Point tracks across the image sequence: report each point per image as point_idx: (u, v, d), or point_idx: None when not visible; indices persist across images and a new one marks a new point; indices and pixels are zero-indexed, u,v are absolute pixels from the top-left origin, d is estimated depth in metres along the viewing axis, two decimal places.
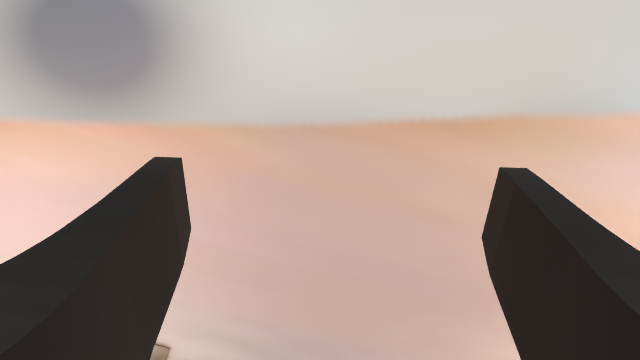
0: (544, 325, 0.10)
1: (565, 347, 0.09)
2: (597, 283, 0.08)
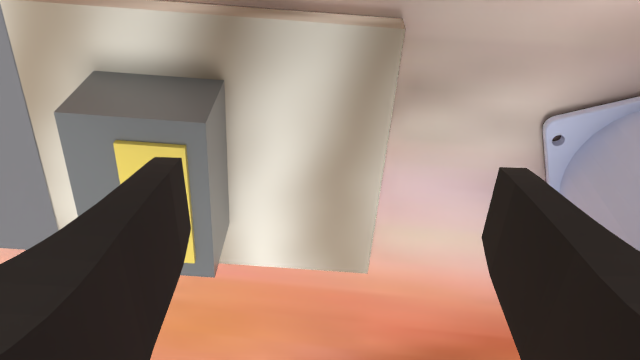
0: (544, 325, 0.10)
1: (565, 347, 0.09)
2: (597, 283, 0.08)
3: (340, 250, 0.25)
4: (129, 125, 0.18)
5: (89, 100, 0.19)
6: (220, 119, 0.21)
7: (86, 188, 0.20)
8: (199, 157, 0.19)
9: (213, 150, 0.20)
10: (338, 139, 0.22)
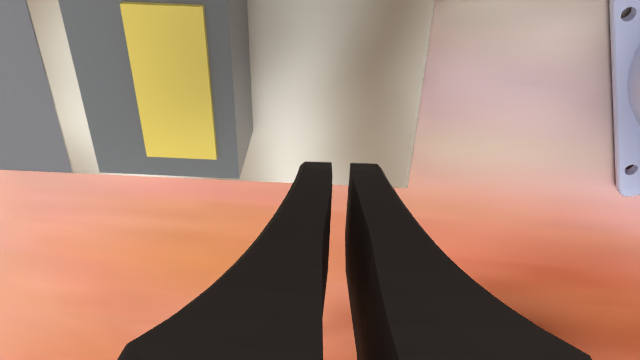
0: (362, 320, 0.10)
1: (367, 341, 0.09)
2: None
3: (377, 160, 0.23)
4: None
5: None
6: None
7: (91, 67, 0.17)
8: (219, 21, 0.16)
9: (235, 19, 0.17)
10: (375, 19, 0.19)
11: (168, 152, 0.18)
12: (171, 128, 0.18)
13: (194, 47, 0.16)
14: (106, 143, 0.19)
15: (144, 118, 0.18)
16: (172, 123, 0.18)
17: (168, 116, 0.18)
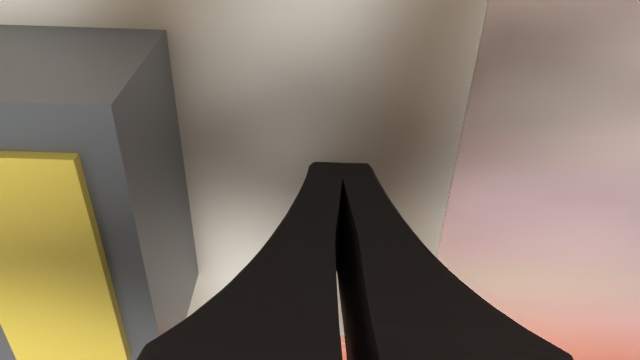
0: (351, 320, 0.10)
1: (355, 341, 0.09)
2: None
3: None
4: None
5: None
6: (160, 101, 0.11)
7: None
8: (109, 177, 0.09)
9: (144, 160, 0.10)
10: (375, 130, 0.13)
11: (50, 355, 0.12)
12: (49, 326, 0.11)
13: (69, 218, 0.09)
14: None
15: (3, 312, 0.11)
16: (49, 319, 0.11)
17: (41, 311, 0.11)
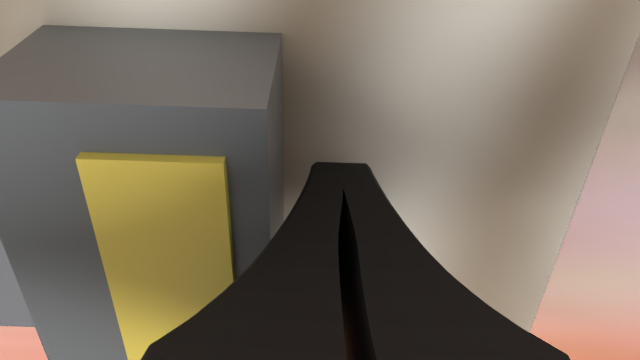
0: (350, 320, 0.10)
1: (352, 341, 0.09)
2: (361, 276, 0.08)
3: None
4: (105, 120, 0.09)
5: (26, 74, 0.09)
6: (278, 104, 0.11)
7: (32, 246, 0.10)
8: (251, 181, 0.09)
9: (273, 163, 0.10)
10: (515, 134, 0.13)
11: None
12: (168, 328, 0.11)
13: (207, 222, 0.10)
14: (63, 343, 0.12)
15: (123, 315, 0.11)
16: (169, 322, 0.11)
17: (163, 313, 0.11)
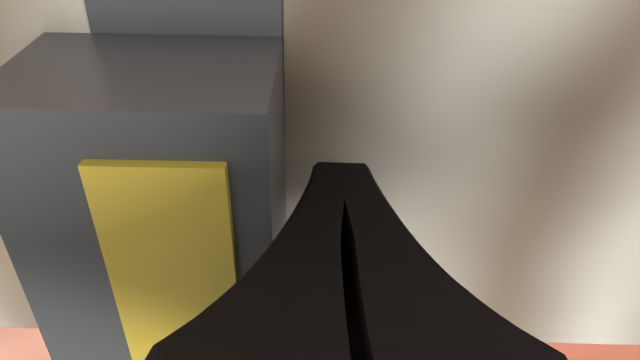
0: (348, 320, 0.10)
1: (351, 341, 0.09)
2: (359, 276, 0.08)
3: None
4: (107, 128, 0.09)
5: (27, 82, 0.09)
6: (279, 108, 0.11)
7: (36, 253, 0.10)
8: (253, 185, 0.09)
9: (275, 167, 0.10)
10: None
11: None
12: None
13: (210, 226, 0.10)
14: (69, 349, 0.12)
15: (128, 320, 0.11)
16: (174, 326, 0.11)
17: (167, 318, 0.11)
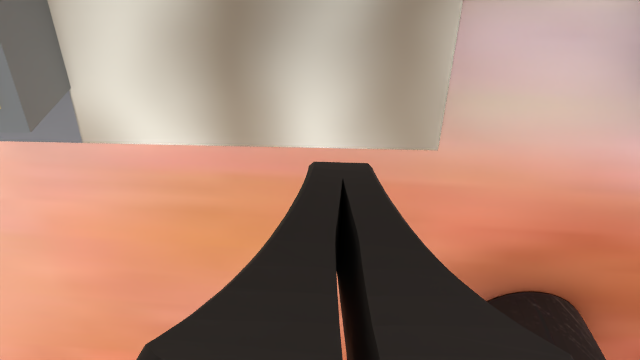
0: (351, 320, 0.10)
1: (355, 341, 0.09)
2: (363, 276, 0.08)
3: (407, 120, 0.22)
4: None
5: None
6: None
7: None
8: None
9: None
10: None
11: None
12: None
13: None
14: None
15: None
16: None
17: None
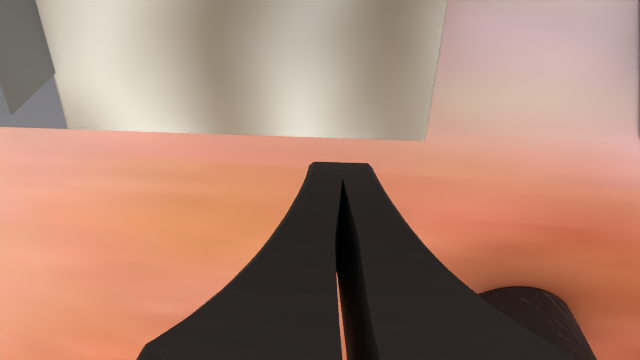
0: (352, 320, 0.10)
1: (355, 341, 0.09)
2: None
3: (393, 110, 0.21)
4: None
5: None
6: None
7: None
8: None
9: None
10: None
11: None
12: None
13: None
14: None
15: None
16: None
17: None
